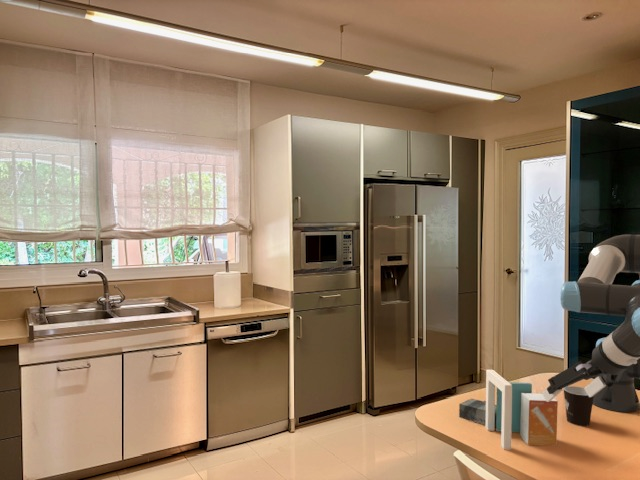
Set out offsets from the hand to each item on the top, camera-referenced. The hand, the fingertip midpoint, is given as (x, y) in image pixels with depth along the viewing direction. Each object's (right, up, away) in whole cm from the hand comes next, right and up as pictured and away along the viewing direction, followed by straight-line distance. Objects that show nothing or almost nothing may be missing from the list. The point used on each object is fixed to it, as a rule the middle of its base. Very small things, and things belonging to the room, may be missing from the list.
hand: (566, 394), depth 129 cm
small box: (-3, -17, +11) cm, 20 cm away
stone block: (-13, -17, +26) cm, 33 cm away
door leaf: (-8, -16, +15) cm, 24 cm away
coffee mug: (+17, -17, +26) cm, 35 cm away
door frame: (-14, -17, +12) cm, 25 cm away
